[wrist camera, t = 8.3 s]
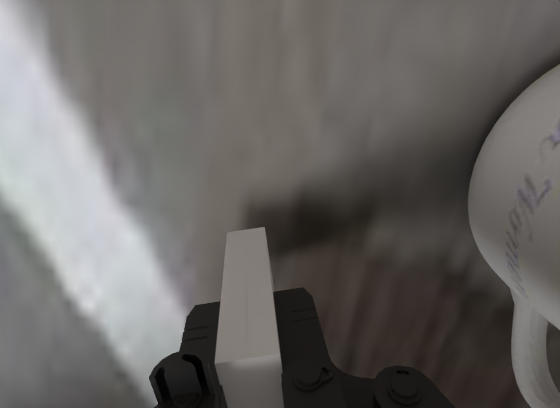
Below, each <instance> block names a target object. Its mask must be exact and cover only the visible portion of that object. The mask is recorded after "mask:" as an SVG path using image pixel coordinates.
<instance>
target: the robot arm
mask: <svg viewBox="0 0 560 408" xmlns="http://www.w3.org/2000/svg"><path fill="white" fill-rule="evenodd" d="M149 379H150V382H151V385H152V388H153V390H154V393H155V396H156V399H157V401H158V405H157V406H155V407H154V408H455V407H454V406H453V405H452V404H451V403H450V402H449V401H448V399H447V398H446V397H445V396H444V395H443V394H442V393H441V392H440V390H439V389H438V388H437V387H436V386H435V385H434V384H433V383H432V382H431V380H430V379H428V378H427V377H426V376H425V375H424V374H422V373H421V372H420V371H417V370H415V369H412V368H410V367H405V366H393V367H388V368H385V369H384V370H382V371H381V372H379V373H378V375H377V376H376V378H375V379H368V378H360V377H355V376H351V375H348V374H346V373H344V372H342V371H341V370H339V369H338V368H337V367H336V366H335V365H334V364H333V363H332V362H331V359H330V357H329V355H328V351H327V348H326V344H325V340H324V337H323V333H322V330H321V326H320V323H319V320H318V315H317V312H316V309H315V305H314V301H313V298H312V296H311V295H310V294H309V293H308V292H307V291H306V290H305V289H304V288H296V289H290V290H284V291H277V292H274V285H273V278H272V272H271V265H270V259H269V252H268V245H267V239H266V232H265V227H260V228H254V229H247V230H240V231H233V232H227V239H226V249H225V260H224V270H223V281H222V291H221V301H220V302H213V303H207V304H201V305H195V307H194V308H193V310H192V311H191V312H190V314H189V315H188V316H187V319H186V323H185V328H184V333H183V337H182V343H181V346H180V351H179V352H176V353H173V354H171V355H169V356H168V357H166V358H164V359H163V360H161V361H160V362H159V363H158V364H157V365H156V366H155V368H154V369H153V371H152V373H151V375H150V377H149Z"/></svg>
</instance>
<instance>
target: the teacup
mask: <svg viewBox="0 0 560 408" xmlns="http://www.w3.org/2000/svg"><path fill="white" fill-rule="evenodd" d="M468 214H469V223H470V227H471V230H472V233H473V237H474V239H475V242H476V244H477V247H478V249H479V251H480V252H481V254H482V256H483V257H484V259H485V260H486V262H487V263H488V264H489V266H490V267H491V268H492V269H493V270H494V272H495V273H496V274H497V275H498V276H499V277H500V278H501V279H502V280H503V281H504V282H505V283H506V284H507V285H508V286H509V287H510V290H511V295H512V298H513V301H514V304H515V305H514V314H513V325H512V338H511V355H512V365H513V370H514V374H515V379H516V382H517V384H518V387H519V389H520V391H521V394H522V395H523V397H524V398H525V400H526V402H527V403H528V404H529V405H530V407H531V408H560V393H559V391H558V390H557V388H556V386H555V385H554V383H553V380H552V378H551V375H550V373H549V367H548V361H547V355H546V334H547V326H548V321H549V322H550V323H551V324H553V325H554V326H555V327H556V328H558V329H559V330H560V64H559V65H557V66H556V67H554V68H553V69H551V70H549V71H548V72H546V73H545V74H544V75H542V76H541V77H540V78H538V79H537V80H536V81H535V82H533V83H532V84H531V85H530V86H529V87H527V88H526V89H525V90H524V91H523V92H522V93H521V94H520V95H519V96H518V97H517V98H516V99H515V100H514V101H513V102H512V103H511V104H510V105H509V107H508V108H507V109H506V110H505V112H504V113H503V114H502V116H501V117H500V118H499V119H498V121H497V122H496V124H495V125H494V127H493V128H492V130H491V131H490V133H489V134H488V136H487V138H486V140H485V142H484V144H483V146H482V148H481V150H480V153H479V155H478V157H477V160H476V162H475V165H474V169H473V173H472V176H471V180H470V185H469V193H468Z"/></svg>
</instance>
